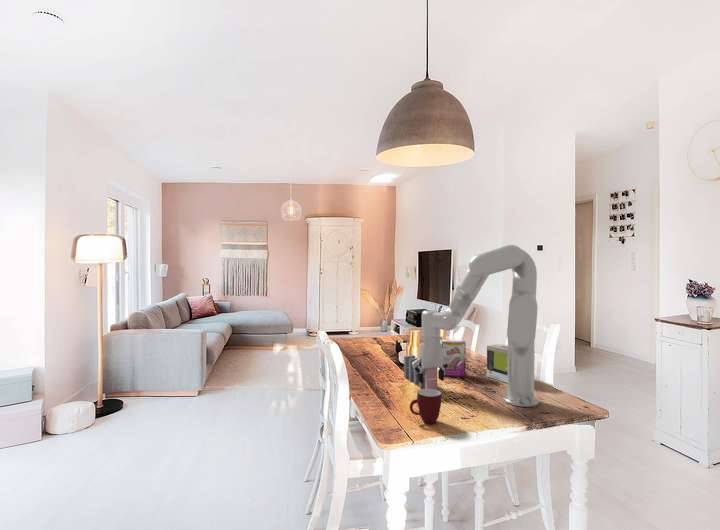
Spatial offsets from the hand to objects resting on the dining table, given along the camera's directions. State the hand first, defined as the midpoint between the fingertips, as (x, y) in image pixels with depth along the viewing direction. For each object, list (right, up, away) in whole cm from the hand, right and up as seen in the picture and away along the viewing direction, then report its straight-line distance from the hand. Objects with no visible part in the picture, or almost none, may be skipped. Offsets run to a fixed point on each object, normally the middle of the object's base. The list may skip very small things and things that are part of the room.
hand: (430, 381), depth 164 cm
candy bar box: (+14, -4, +22) cm, 26 cm away
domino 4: (-2, -4, +5) cm, 6 cm away
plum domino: (0, -4, 0) cm, 4 cm away
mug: (-7, -5, -32) cm, 33 cm away
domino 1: (-7, -4, +18) cm, 20 cm away
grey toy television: (+37, -4, +15) cm, 40 cm away
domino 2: (-5, -4, +14) cm, 15 cm away
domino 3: (-3, -4, +9) cm, 10 cm away
